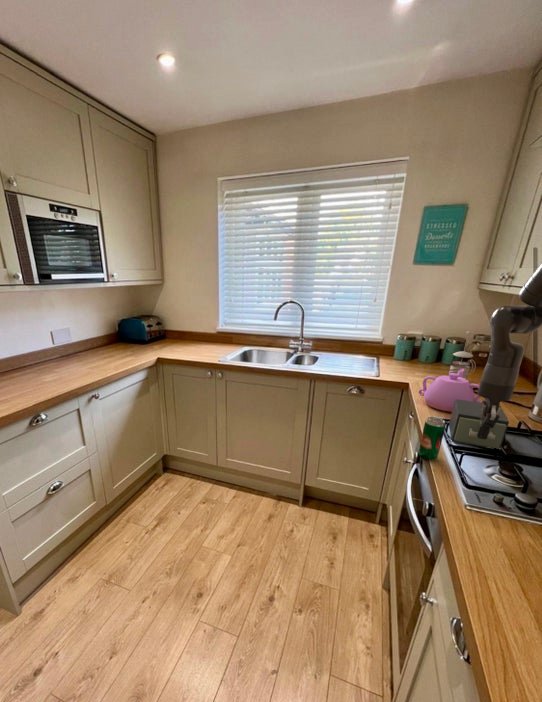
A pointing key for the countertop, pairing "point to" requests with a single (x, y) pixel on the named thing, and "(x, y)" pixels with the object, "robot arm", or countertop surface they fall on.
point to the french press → (460, 364)
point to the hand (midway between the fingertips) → (481, 437)
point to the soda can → (431, 438)
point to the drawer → (470, 429)
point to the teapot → (448, 391)
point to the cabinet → (470, 416)
